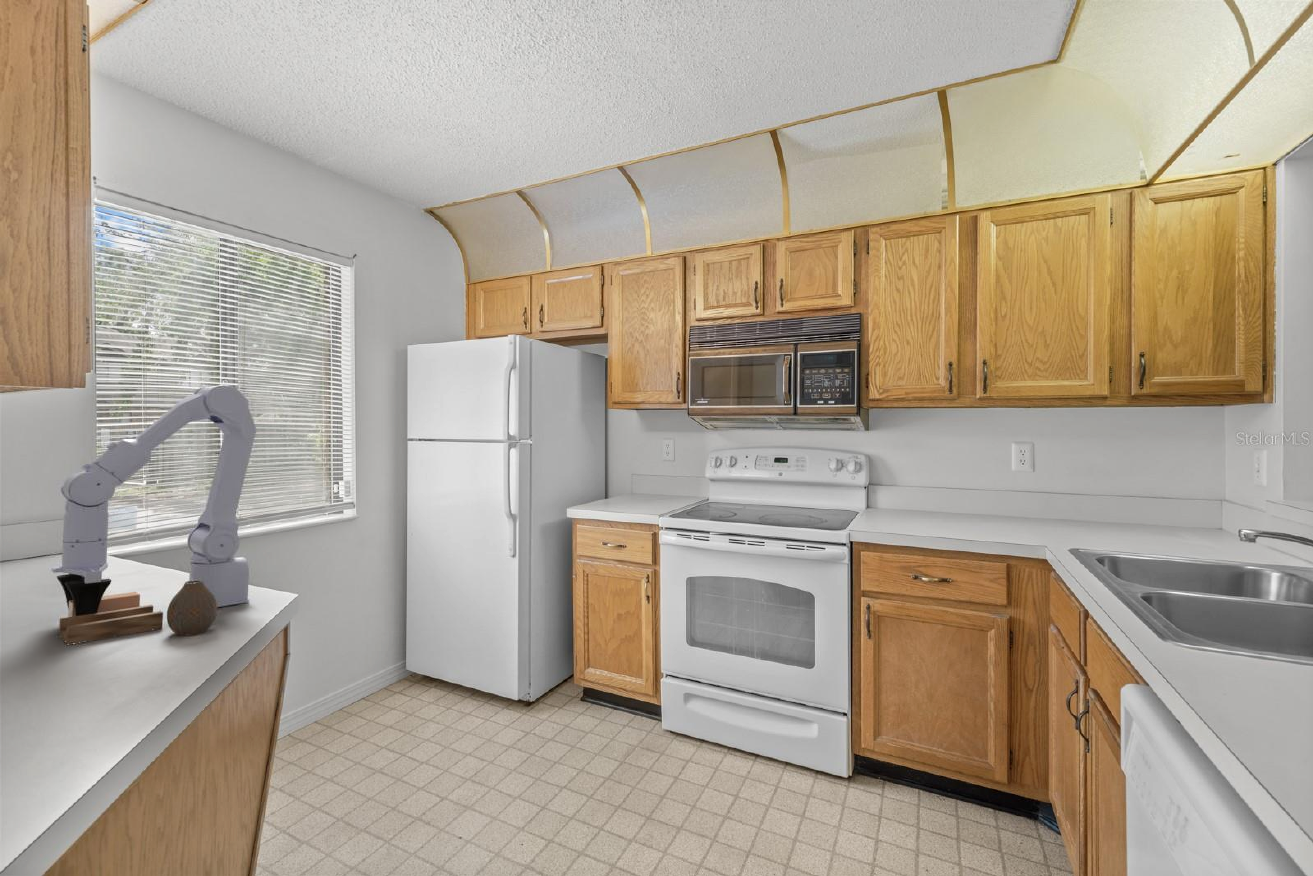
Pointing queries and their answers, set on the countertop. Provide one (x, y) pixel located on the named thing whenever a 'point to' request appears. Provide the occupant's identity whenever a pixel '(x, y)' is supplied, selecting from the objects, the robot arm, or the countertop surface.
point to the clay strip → (113, 603)
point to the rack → (109, 624)
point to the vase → (192, 609)
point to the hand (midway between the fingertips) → (82, 617)
